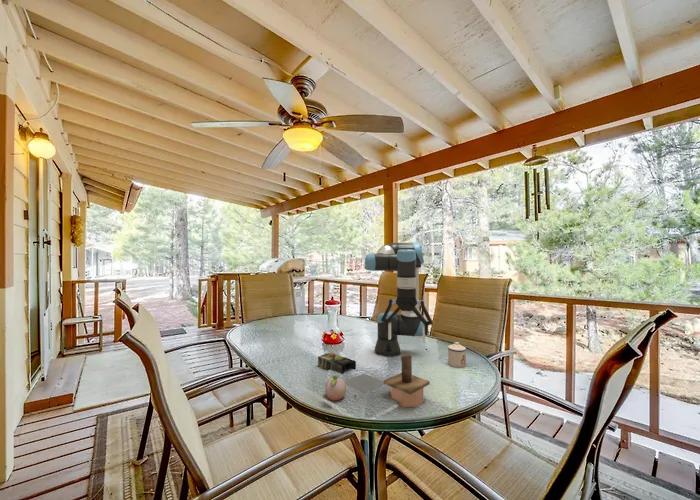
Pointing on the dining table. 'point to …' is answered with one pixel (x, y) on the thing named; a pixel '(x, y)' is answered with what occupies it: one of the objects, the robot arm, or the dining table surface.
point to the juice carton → (335, 362)
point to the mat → (364, 382)
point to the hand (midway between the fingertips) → (406, 340)
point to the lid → (406, 378)
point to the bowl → (407, 397)
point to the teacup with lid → (456, 355)
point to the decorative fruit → (335, 388)
